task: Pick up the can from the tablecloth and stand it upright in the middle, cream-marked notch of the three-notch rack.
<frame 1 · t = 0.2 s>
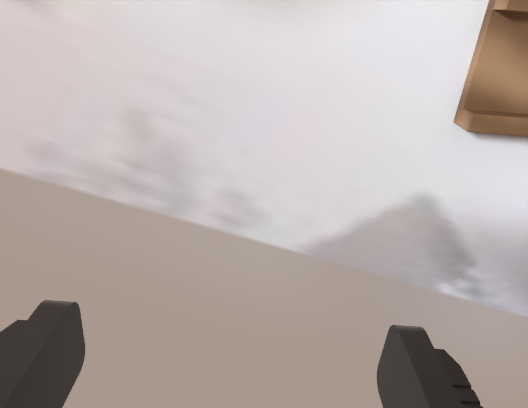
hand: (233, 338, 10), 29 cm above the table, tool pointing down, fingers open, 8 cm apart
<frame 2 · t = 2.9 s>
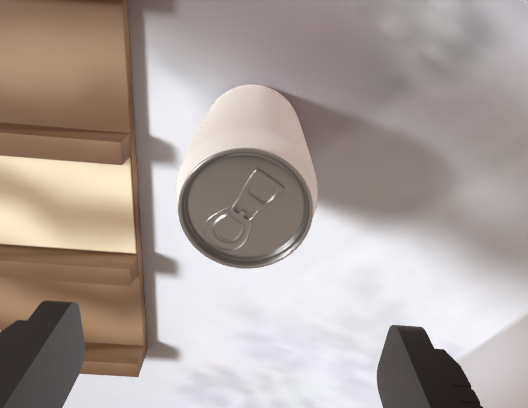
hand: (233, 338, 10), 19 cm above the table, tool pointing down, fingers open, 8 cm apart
can: (252, 130, 28), on the table
notch rack: (56, 195, 29), on the table
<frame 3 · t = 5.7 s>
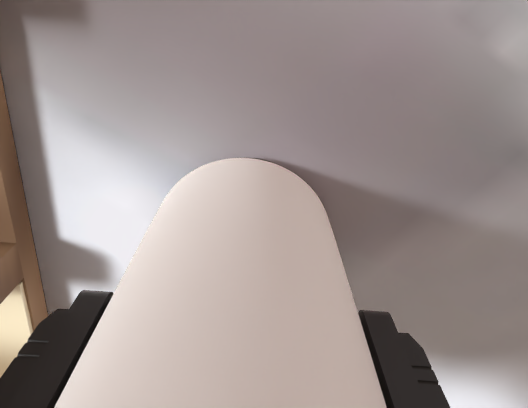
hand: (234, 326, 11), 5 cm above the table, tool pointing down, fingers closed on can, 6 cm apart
can: (243, 231, 15), on the table, touching gripper
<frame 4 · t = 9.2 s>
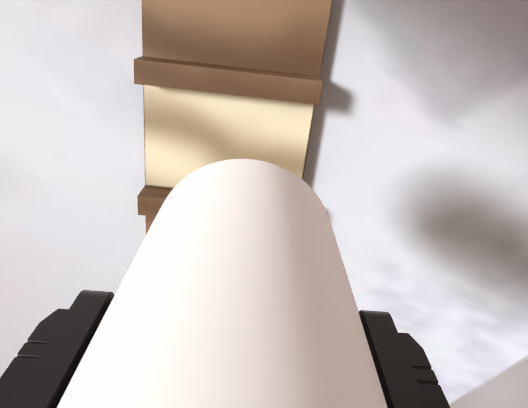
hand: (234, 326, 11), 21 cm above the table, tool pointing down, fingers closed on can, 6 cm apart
can: (244, 231, 15), point 16 cm above the table, touching gripper
notch rack: (227, 140, 30), on the table
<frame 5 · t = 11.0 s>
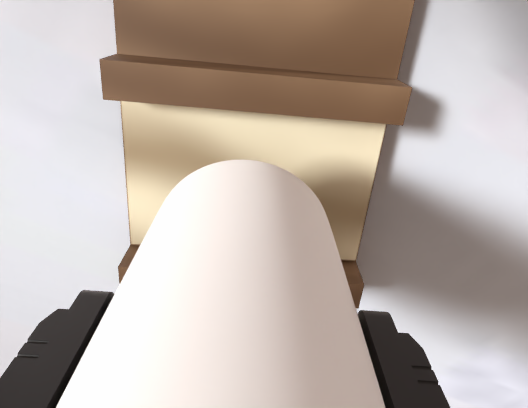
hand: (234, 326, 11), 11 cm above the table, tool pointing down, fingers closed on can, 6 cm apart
can: (243, 232, 15), point 6 cm above the table, touching gripper
notch rack: (250, 176, 20), on the table
when the fingers open (7 cm above the table, at t = 12.7 s): can stays where it is, resting on notch rack.
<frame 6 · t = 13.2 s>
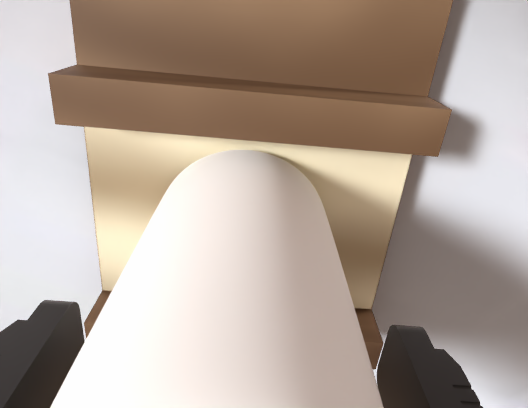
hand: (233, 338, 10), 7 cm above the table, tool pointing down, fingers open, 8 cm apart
can: (243, 220, 16), point 1 cm above the table, touching notch rack
notch rack: (245, 210, 17), on the table
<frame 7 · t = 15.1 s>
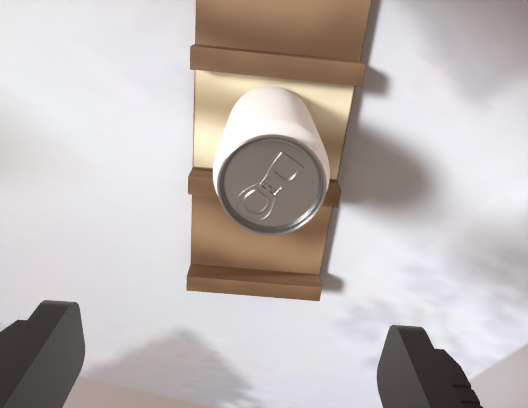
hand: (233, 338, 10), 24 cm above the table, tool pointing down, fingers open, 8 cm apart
can: (269, 126, 31), point 1 cm above the table, touching notch rack
notch rack: (270, 123, 32), on the table
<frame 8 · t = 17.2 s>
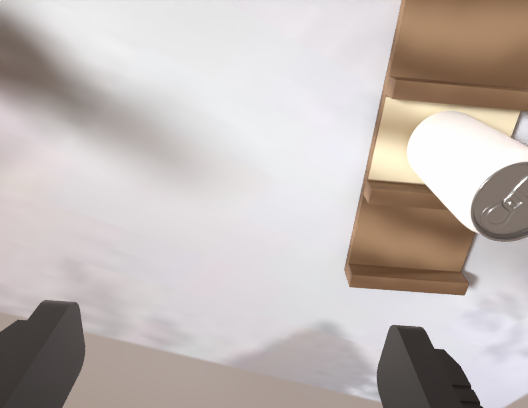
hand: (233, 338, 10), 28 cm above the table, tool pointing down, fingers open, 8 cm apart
can: (440, 144, 36), point 1 cm above the table, touching notch rack
notch rack: (436, 141, 37), on the table
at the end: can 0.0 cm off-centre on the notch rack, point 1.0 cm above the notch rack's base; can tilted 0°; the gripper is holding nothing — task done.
